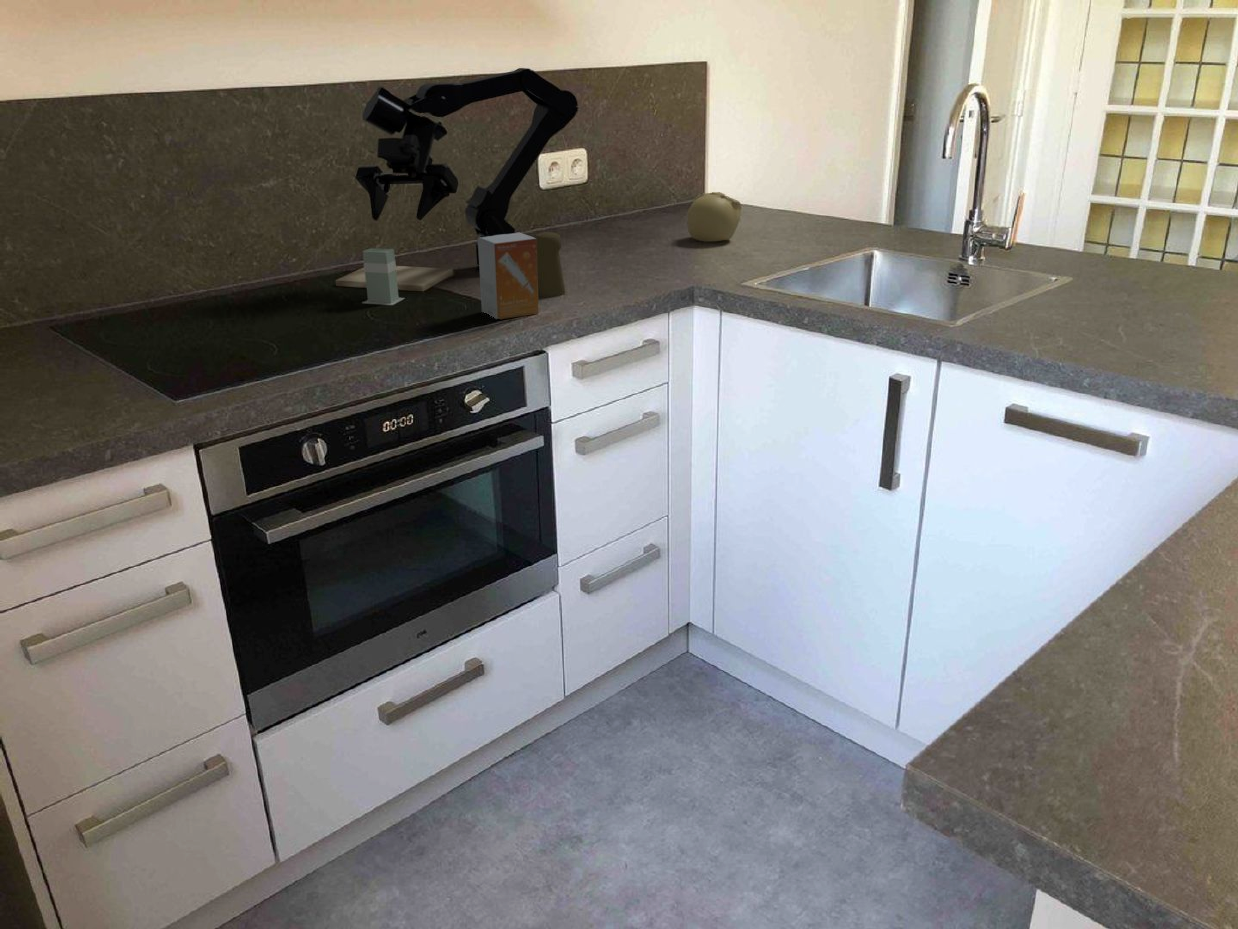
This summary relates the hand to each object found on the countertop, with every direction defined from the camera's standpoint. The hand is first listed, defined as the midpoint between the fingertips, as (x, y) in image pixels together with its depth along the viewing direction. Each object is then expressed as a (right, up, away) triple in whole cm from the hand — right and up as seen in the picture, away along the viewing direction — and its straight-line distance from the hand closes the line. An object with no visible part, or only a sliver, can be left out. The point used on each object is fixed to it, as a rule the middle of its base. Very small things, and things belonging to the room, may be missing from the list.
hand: (396, 219), depth 180 cm
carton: (-2, -15, -2) cm, 15 cm away
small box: (+22, -19, -10) cm, 30 cm away
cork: (+28, -13, +3) cm, 31 cm away
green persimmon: (+62, +7, +47) cm, 78 cm away
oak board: (-3, -9, +12) cm, 15 cm away
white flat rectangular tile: (-2, -15, -2) cm, 16 cm away
